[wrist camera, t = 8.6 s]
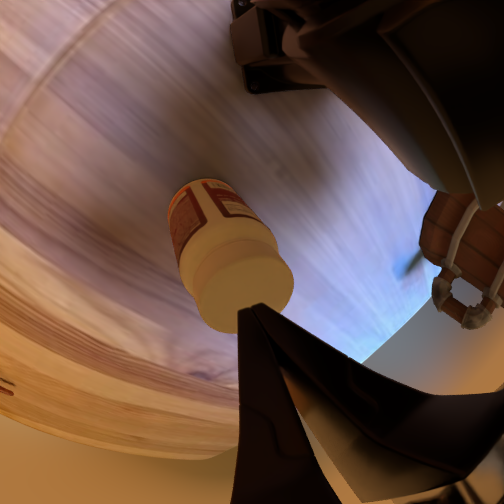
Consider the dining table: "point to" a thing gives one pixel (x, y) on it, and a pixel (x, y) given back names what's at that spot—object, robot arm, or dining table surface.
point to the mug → (465, 254)
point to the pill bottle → (225, 254)
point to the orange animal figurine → (6, 391)
